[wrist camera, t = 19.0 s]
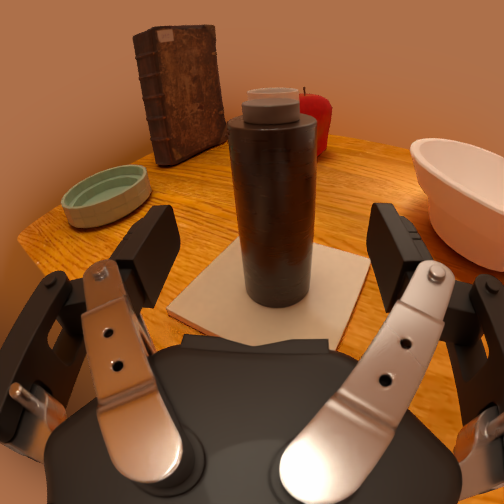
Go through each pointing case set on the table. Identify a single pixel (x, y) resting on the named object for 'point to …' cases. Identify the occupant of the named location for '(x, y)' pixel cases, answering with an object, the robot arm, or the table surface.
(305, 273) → the thermos flask
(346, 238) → the table surface
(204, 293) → the tile
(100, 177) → the celadon bowl
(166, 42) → the book
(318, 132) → the apple
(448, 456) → the robot arm
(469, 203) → the bowl
